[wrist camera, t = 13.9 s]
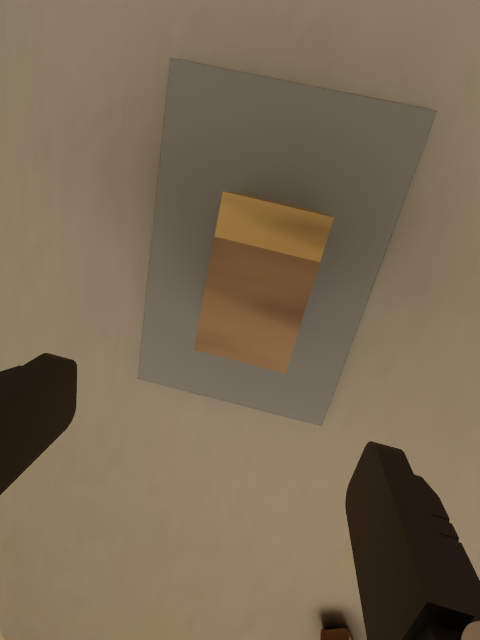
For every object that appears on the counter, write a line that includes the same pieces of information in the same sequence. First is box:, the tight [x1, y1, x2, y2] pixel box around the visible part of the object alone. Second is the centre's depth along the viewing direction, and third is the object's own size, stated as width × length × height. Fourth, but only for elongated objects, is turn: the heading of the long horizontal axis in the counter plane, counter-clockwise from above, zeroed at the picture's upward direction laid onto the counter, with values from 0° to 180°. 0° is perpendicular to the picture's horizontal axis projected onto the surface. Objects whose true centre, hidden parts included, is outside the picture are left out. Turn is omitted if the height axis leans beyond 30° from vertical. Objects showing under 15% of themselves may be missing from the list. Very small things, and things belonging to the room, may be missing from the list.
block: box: [194, 191, 334, 374], centre depth 18 cm, size 5×5×8 cm
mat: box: [137, 58, 437, 426], centre depth 21 cm, size 20×14×1 cm
